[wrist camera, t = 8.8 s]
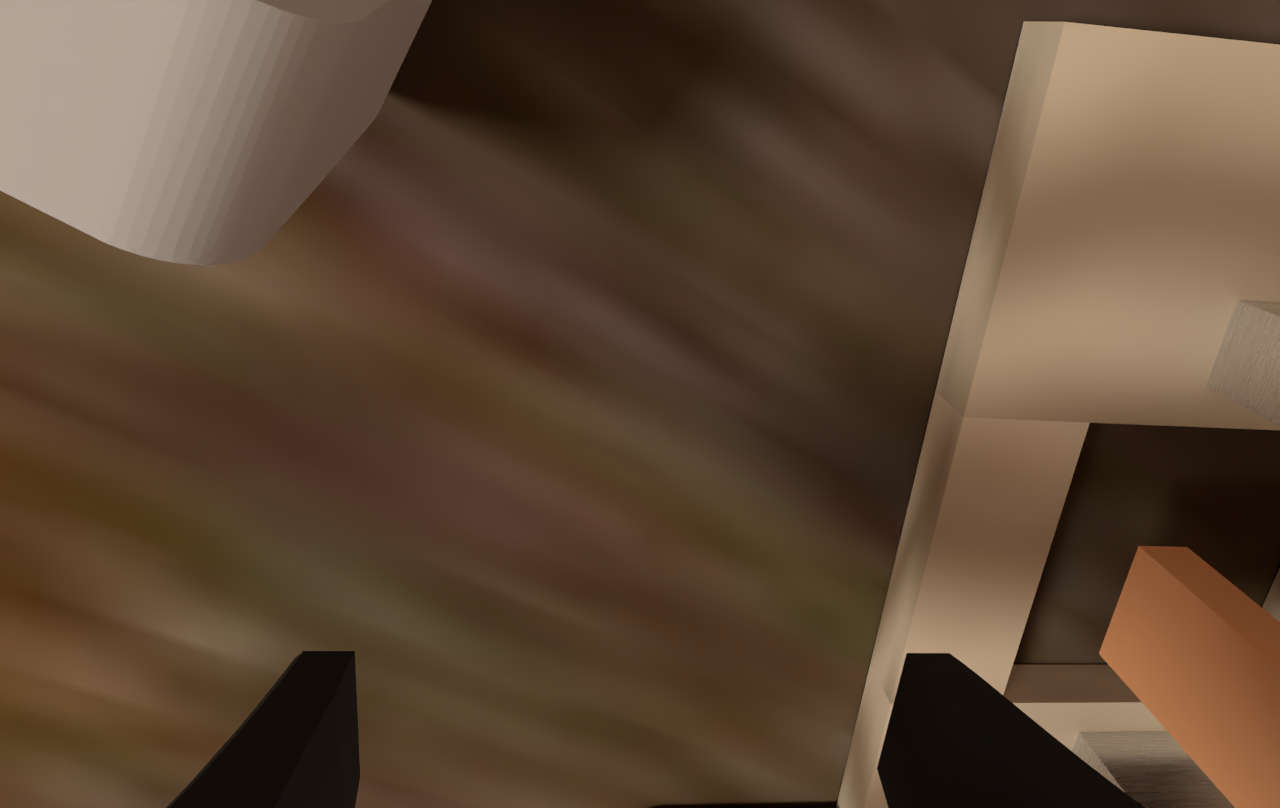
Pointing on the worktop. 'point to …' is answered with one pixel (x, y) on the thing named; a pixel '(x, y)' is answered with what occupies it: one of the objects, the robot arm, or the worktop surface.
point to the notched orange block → (1203, 668)
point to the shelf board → (1077, 341)
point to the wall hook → (189, 112)
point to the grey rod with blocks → (1153, 760)
